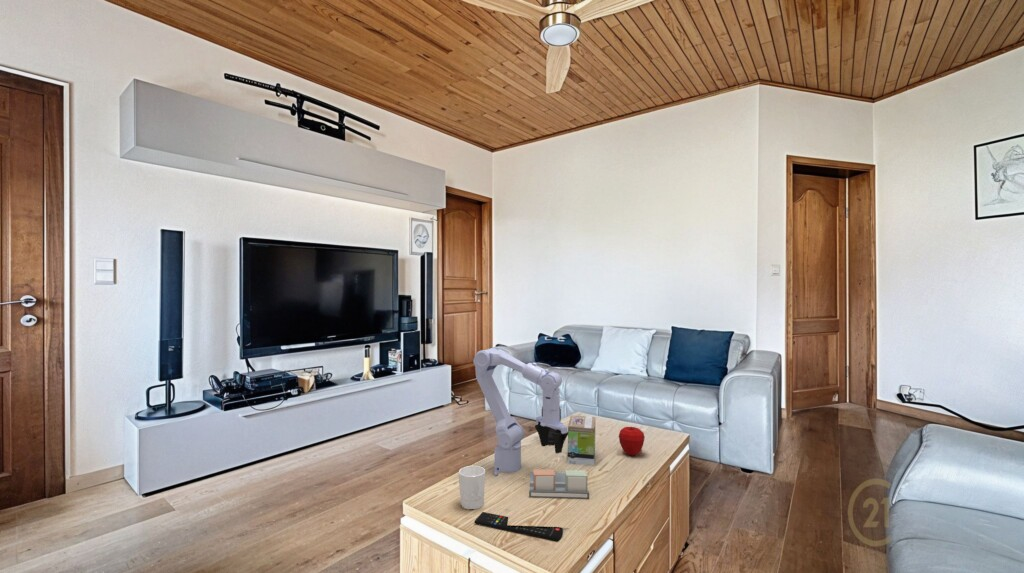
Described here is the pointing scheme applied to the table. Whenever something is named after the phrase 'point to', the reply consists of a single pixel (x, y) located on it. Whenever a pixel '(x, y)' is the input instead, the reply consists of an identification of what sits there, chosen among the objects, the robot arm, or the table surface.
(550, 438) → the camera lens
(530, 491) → the shelf board
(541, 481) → the terracotta carton
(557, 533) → the remote control
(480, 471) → the white cup
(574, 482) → the sage carton
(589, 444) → the tea box
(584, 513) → the table surface
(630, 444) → the apple
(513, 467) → the robot arm
